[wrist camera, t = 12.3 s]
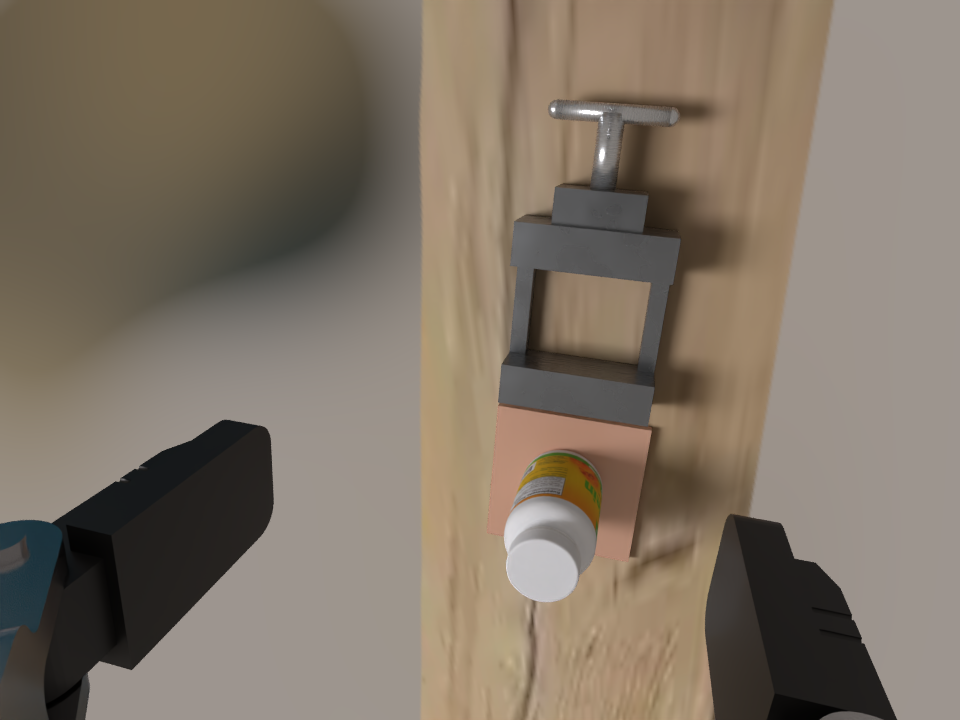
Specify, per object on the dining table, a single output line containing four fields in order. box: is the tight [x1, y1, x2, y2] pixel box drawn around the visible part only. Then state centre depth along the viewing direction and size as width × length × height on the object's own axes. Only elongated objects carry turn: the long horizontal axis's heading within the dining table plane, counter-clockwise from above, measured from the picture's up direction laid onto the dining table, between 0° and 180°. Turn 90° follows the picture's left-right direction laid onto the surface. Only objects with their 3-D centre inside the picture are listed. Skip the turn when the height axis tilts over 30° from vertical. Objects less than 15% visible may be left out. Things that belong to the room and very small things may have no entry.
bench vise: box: [498, 99, 681, 427], centre depth 37 cm, size 18×9×4 cm, turn 176°
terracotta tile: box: [487, 403, 652, 562], centre depth 44 cm, size 10×10×1 cm
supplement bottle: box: [504, 450, 603, 602], centre depth 39 cm, size 5×5×10 cm
